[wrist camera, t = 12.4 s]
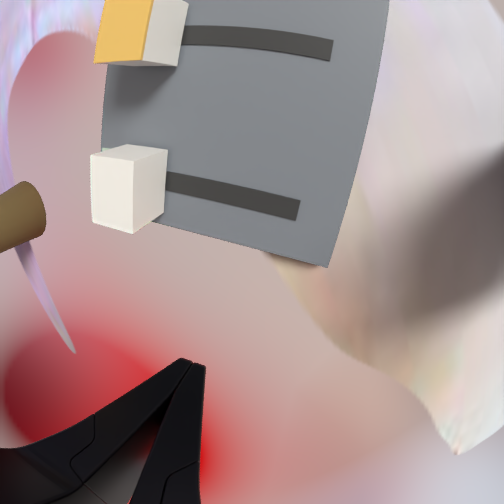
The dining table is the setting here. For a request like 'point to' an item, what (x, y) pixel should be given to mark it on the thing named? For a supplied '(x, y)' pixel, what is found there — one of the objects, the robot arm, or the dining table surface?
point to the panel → (257, 119)
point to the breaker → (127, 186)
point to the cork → (20, 215)
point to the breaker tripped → (141, 32)
